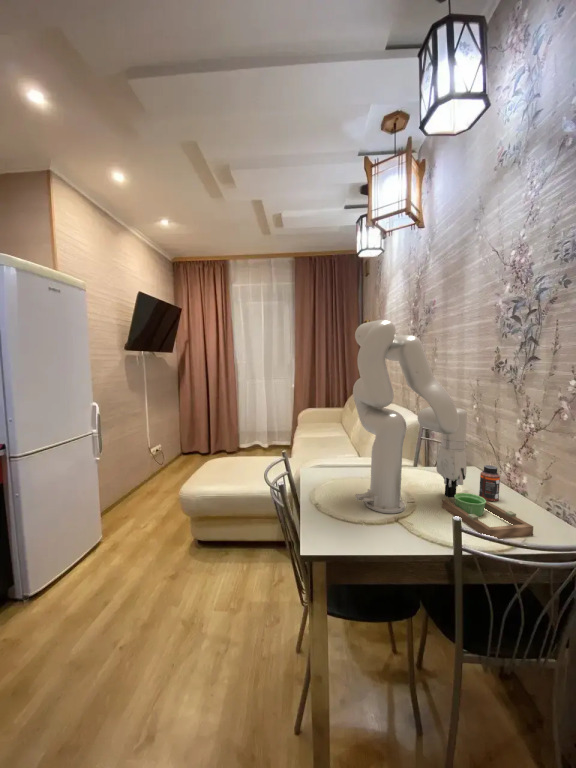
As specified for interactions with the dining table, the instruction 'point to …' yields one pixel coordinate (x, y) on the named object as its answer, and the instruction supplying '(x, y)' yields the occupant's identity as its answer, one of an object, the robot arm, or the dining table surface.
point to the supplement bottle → (489, 483)
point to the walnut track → (500, 532)
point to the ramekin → (470, 503)
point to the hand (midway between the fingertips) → (450, 496)
